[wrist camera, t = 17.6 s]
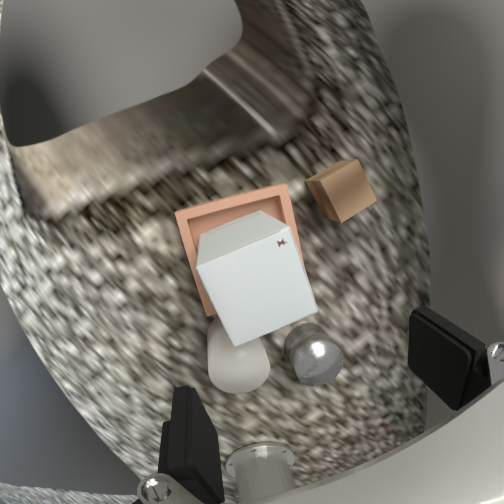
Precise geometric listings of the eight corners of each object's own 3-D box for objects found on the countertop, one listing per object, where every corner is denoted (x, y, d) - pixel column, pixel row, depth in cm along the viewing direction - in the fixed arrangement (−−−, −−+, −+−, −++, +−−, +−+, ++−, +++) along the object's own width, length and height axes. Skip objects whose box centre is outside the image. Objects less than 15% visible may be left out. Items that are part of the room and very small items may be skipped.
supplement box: (197, 233, 32) (191, 264, 20) (260, 208, 32) (293, 223, 20) (222, 292, 34) (232, 349, 22) (282, 267, 34) (321, 312, 22)
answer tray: (301, 280, 36) (308, 287, 33) (206, 307, 35) (206, 316, 32) (280, 183, 33) (286, 183, 30) (177, 210, 32) (174, 212, 29)
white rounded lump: (262, 347, 37) (275, 384, 30) (215, 360, 37) (218, 399, 29) (250, 305, 36) (262, 337, 28) (200, 319, 35) (199, 354, 27)
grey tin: (328, 352, 39) (345, 376, 33) (288, 365, 39) (300, 391, 33) (323, 317, 38) (341, 338, 32) (280, 330, 37) (292, 355, 31)
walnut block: (355, 197, 35) (376, 200, 30) (323, 217, 35) (341, 223, 30) (338, 161, 33) (357, 159, 28) (304, 180, 33) (320, 180, 28)
